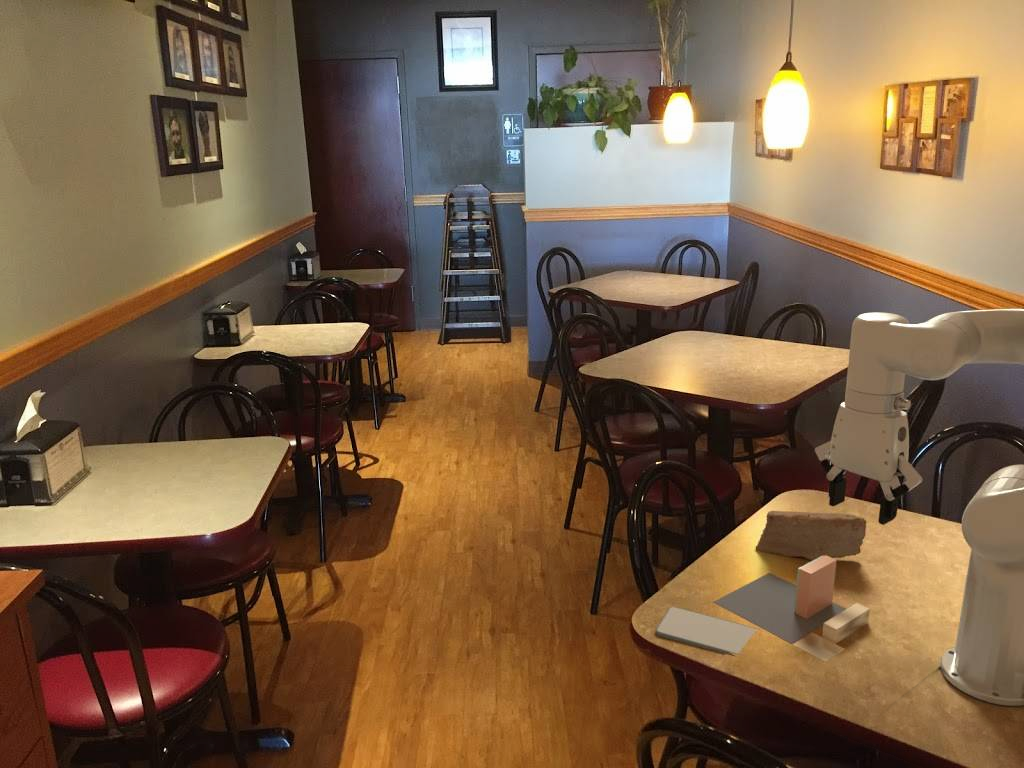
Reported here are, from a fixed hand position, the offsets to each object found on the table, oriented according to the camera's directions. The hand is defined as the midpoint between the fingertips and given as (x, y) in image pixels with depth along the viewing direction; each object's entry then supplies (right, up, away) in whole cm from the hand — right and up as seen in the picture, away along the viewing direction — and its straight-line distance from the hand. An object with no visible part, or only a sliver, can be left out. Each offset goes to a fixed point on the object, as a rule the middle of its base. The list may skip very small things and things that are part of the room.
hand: (860, 511), depth 125 cm
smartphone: (-22, -20, +5) cm, 30 cm away
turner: (-3, -20, +3) cm, 20 cm away
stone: (+1, -13, +27) cm, 30 cm away
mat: (-9, -17, +11) cm, 22 cm away
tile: (-3, -17, +10) cm, 20 cm away
